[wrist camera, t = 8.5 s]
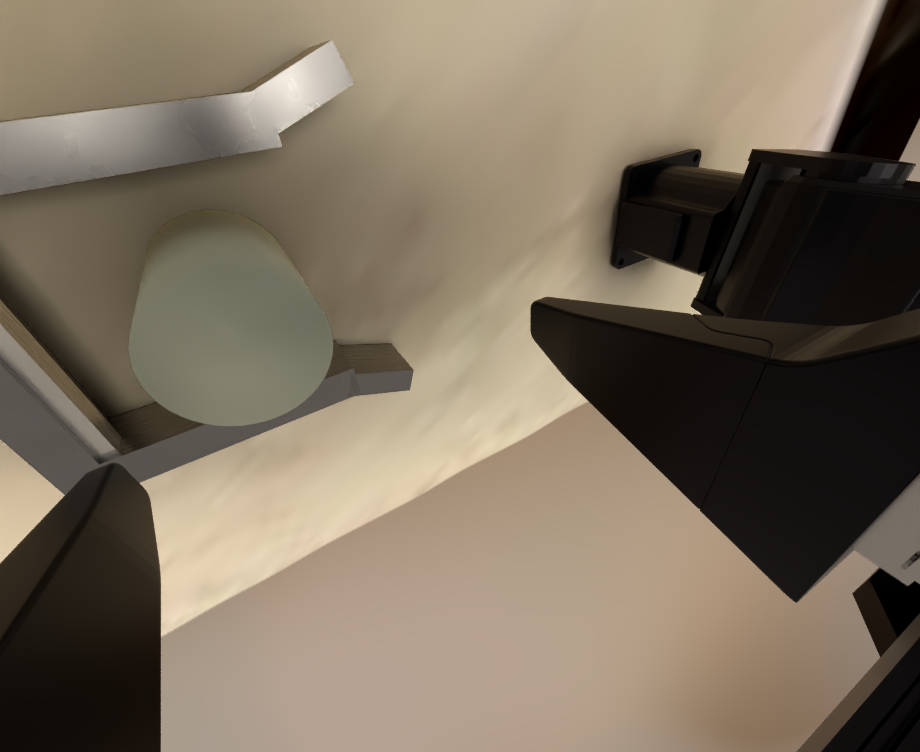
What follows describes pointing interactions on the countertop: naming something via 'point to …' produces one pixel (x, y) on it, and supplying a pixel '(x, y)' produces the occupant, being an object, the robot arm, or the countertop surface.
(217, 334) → the grey rounded piece
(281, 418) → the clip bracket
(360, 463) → the countertop surface
